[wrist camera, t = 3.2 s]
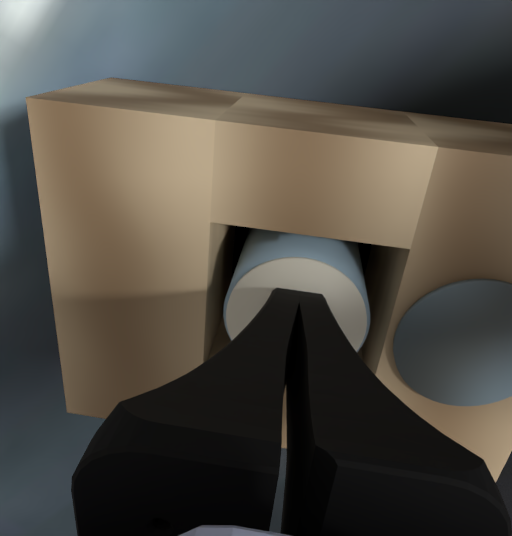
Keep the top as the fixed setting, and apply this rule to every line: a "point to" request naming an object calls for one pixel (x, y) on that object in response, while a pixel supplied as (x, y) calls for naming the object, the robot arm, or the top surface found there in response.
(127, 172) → the socket block
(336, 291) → the peg
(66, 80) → the top surface
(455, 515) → the robot arm
